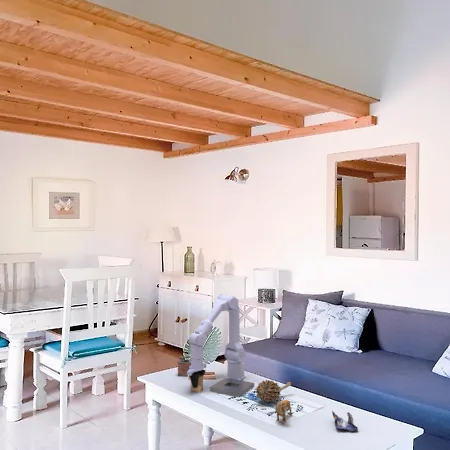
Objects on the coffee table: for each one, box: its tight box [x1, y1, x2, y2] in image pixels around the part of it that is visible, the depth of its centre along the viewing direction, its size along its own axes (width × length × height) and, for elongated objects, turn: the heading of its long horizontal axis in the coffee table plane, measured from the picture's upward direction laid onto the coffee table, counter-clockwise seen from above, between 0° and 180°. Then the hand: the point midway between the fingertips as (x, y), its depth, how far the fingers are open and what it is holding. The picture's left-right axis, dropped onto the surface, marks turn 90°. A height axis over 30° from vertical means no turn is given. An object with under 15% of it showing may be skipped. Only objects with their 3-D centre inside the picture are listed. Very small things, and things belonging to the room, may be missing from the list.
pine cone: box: [254, 379, 292, 403], centre depth 222 cm, size 22×10×10 cm, turn 136°
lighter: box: [177, 356, 191, 378], centre depth 255 cm, size 8×3×10 cm, turn 84°
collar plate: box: [209, 377, 255, 398], centre depth 236 cm, size 16×16×2 cm
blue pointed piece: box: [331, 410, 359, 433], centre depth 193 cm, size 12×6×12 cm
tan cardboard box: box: [190, 375, 204, 393], centre depth 233 cm, size 3×5×7 cm, turn 62°
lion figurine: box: [275, 399, 292, 423], centre depth 201 cm, size 15×5×9 cm, turn 163°
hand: (196, 386), depth 233 cm, fingers closed on tan cardboard box, 3 cm apart
